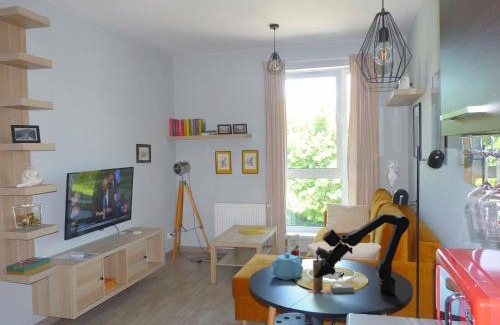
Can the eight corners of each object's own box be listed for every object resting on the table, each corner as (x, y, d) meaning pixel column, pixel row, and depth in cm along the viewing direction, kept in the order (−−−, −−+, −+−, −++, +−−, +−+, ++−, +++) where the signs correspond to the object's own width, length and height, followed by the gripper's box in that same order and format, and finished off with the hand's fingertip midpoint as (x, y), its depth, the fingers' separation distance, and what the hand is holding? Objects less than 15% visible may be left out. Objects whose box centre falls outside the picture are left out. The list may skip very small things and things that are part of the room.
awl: (323, 288, 193) (322, 251, 193) (322, 291, 189) (321, 254, 189) (314, 287, 195) (313, 251, 194) (313, 290, 190) (312, 253, 190)
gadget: (319, 270, 232) (319, 264, 232) (344, 273, 226) (344, 267, 226) (308, 282, 211) (308, 275, 211) (336, 285, 205) (335, 278, 205)
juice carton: (283, 263, 246) (282, 233, 246) (295, 261, 250) (294, 232, 249) (289, 266, 239) (289, 235, 239) (301, 264, 243) (301, 234, 242)
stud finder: (350, 288, 196) (350, 282, 196) (354, 292, 190) (354, 286, 190) (330, 288, 195) (330, 283, 195) (333, 293, 189) (333, 287, 189)
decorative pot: (279, 272, 229) (279, 248, 229) (306, 275, 222) (305, 251, 222) (268, 280, 215) (268, 255, 214) (296, 283, 208) (296, 258, 207)
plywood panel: (350, 290, 196) (350, 288, 196) (361, 302, 180) (361, 300, 180) (306, 292, 195) (306, 289, 195) (313, 304, 179) (313, 301, 179)
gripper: (323, 237, 200) (301, 259, 201) (327, 246, 182) (304, 270, 183) (339, 252, 200) (317, 274, 201) (345, 263, 181) (321, 286, 182)
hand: (315, 276), depth 192 cm, fingers closed on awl, 4 cm apart
